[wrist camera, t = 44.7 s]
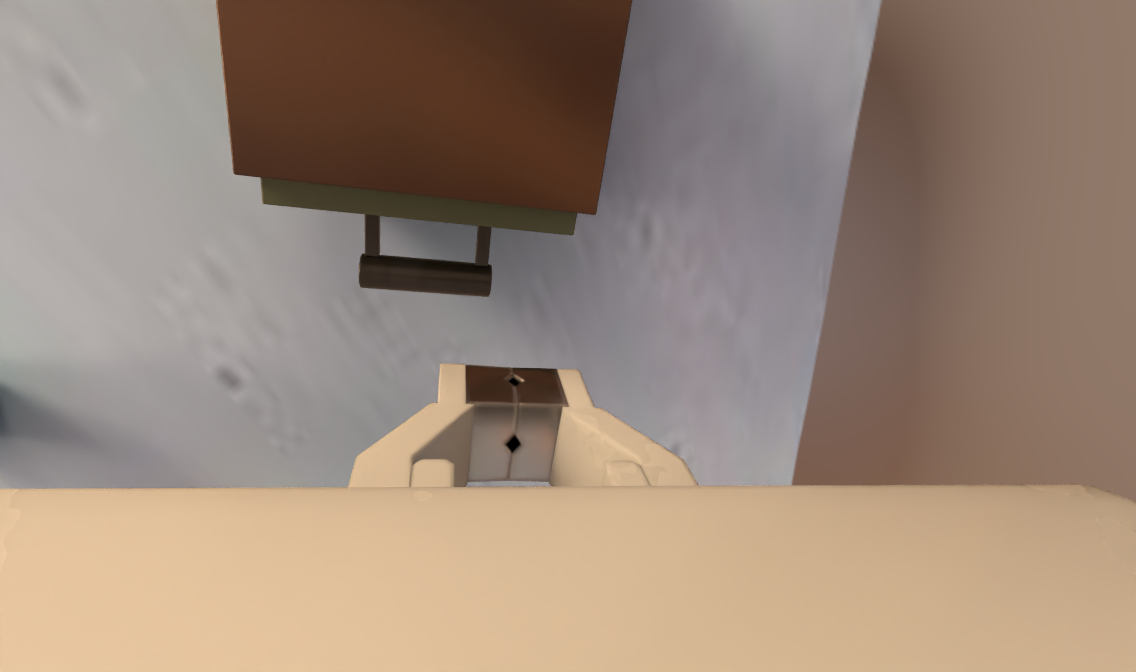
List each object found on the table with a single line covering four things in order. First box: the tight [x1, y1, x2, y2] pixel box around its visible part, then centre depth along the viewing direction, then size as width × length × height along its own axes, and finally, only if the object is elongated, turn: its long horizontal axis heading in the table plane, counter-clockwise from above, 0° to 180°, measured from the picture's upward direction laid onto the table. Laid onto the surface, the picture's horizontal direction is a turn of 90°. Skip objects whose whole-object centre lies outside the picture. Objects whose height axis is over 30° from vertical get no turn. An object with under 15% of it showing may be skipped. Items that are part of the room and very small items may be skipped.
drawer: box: [261, 178, 577, 297], centre depth 24 cm, size 18×13×9 cm
